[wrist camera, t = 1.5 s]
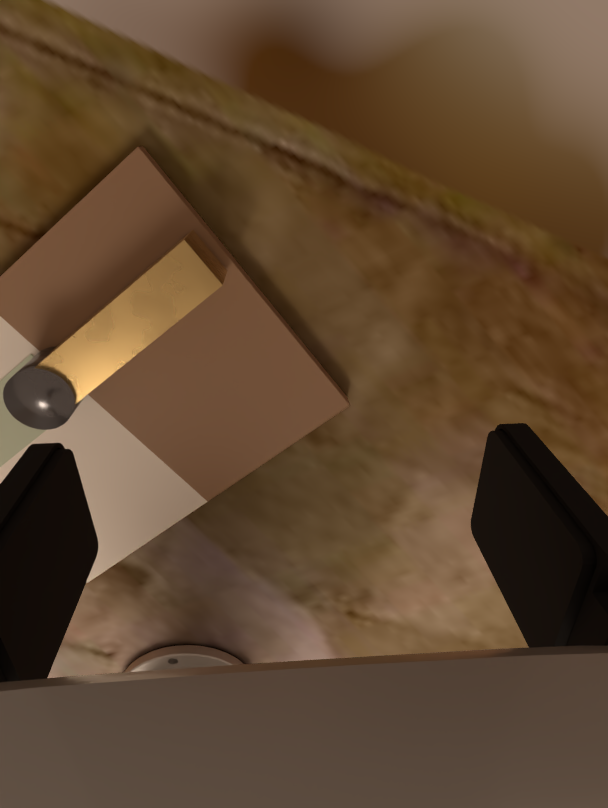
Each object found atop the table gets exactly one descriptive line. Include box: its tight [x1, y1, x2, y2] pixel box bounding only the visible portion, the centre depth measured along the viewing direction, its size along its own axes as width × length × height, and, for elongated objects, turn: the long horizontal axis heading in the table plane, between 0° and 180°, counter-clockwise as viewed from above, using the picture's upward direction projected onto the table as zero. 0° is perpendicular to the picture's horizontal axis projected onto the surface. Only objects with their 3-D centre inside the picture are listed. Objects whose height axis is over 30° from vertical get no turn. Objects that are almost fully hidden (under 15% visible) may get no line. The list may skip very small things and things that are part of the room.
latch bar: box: [3, 230, 227, 430], centre depth 27 cm, size 14×4×4 cm, turn 127°
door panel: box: [0, 146, 350, 583], centre depth 31 cm, size 25×19×5 cm
